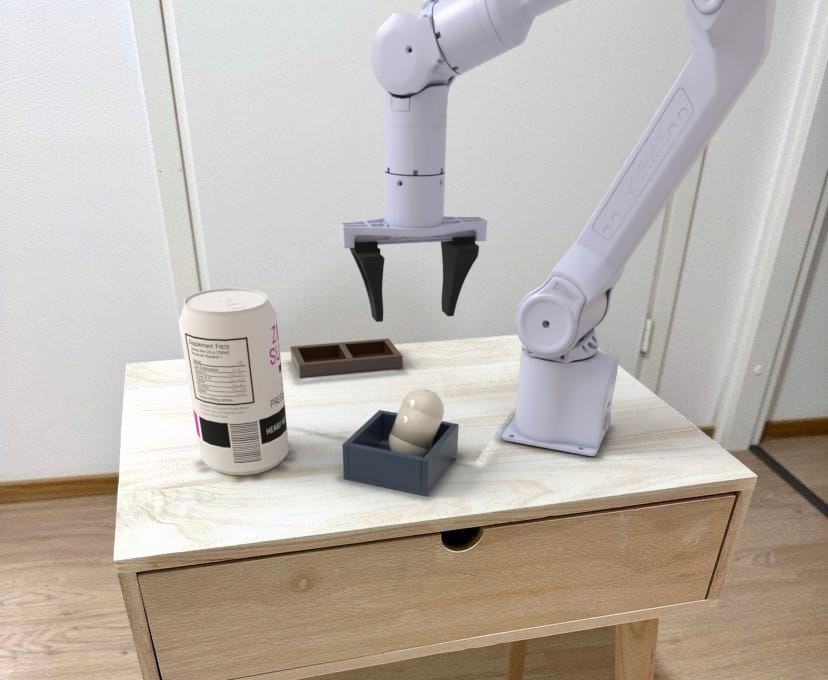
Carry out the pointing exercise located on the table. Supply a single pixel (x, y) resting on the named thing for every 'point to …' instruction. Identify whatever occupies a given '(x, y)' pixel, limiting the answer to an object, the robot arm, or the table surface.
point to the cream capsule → (417, 423)
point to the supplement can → (235, 379)
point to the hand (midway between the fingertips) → (413, 316)
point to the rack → (346, 358)
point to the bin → (397, 457)
